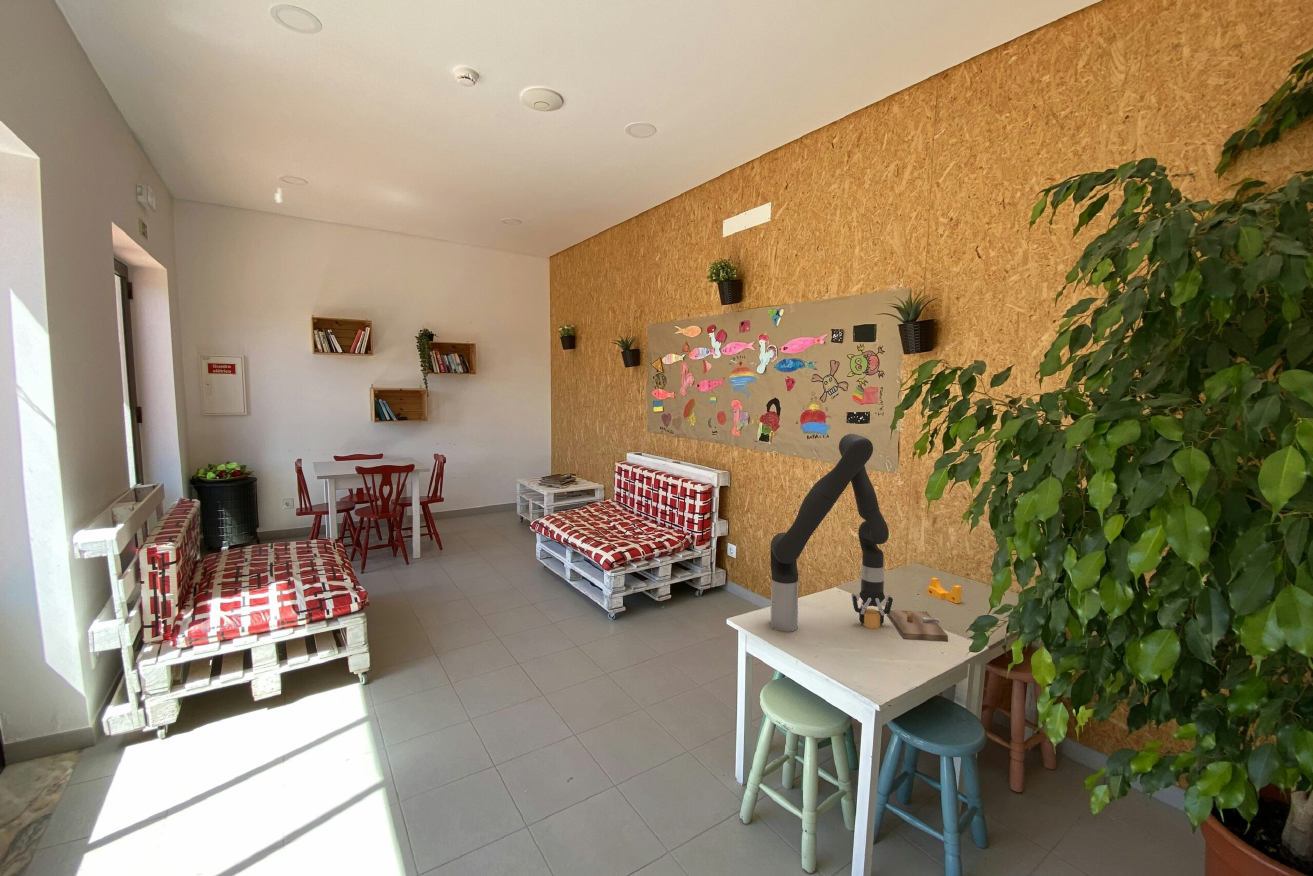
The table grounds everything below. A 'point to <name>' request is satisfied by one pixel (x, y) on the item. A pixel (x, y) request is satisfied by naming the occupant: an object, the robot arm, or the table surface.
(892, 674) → the table surface
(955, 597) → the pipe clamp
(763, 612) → the table surface
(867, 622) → the orange rounded block
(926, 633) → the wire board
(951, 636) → the table surface
